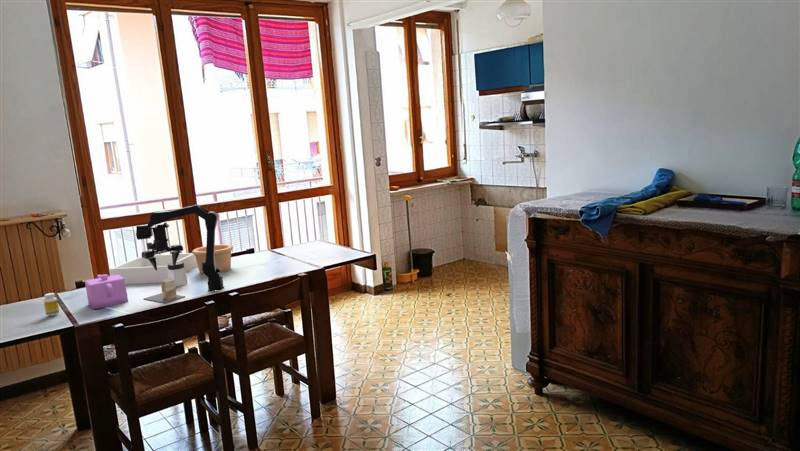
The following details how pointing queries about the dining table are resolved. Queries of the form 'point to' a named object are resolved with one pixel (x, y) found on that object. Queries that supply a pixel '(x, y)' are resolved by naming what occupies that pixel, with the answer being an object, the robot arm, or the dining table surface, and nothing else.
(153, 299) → the mat
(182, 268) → the white upright block
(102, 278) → the pink knobbed box
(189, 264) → the tub
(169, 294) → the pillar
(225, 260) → the pottery
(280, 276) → the dining table surface
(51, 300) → the supplement bottle
